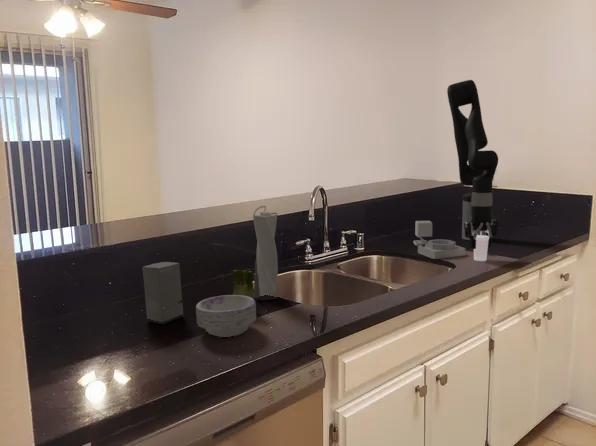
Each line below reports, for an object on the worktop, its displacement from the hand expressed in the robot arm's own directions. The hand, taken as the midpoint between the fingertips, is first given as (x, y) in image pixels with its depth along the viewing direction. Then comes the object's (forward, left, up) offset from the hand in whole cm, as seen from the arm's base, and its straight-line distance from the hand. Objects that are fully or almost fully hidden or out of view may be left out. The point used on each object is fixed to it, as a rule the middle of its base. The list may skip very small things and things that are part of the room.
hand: (480, 247), depth 209 cm
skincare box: (+120, +20, -5) cm, 122 cm away
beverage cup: (0, 0, -5) cm, 5 cm away
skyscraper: (+88, +11, -5) cm, 89 cm away
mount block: (+8, -14, -5) cm, 17 cm away
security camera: (+4, -34, -5) cm, 35 cm away
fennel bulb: (+98, +21, -5) cm, 100 cm away
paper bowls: (+106, +36, -5) cm, 112 cm away
